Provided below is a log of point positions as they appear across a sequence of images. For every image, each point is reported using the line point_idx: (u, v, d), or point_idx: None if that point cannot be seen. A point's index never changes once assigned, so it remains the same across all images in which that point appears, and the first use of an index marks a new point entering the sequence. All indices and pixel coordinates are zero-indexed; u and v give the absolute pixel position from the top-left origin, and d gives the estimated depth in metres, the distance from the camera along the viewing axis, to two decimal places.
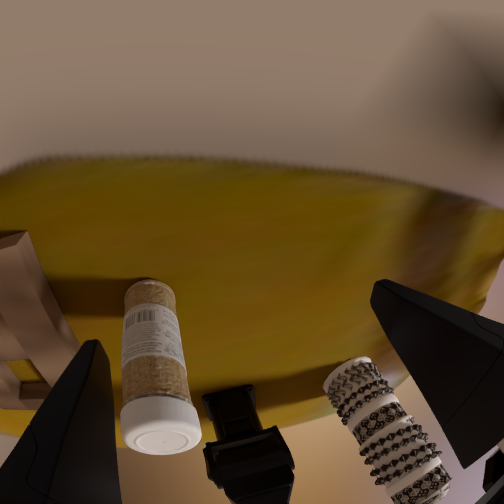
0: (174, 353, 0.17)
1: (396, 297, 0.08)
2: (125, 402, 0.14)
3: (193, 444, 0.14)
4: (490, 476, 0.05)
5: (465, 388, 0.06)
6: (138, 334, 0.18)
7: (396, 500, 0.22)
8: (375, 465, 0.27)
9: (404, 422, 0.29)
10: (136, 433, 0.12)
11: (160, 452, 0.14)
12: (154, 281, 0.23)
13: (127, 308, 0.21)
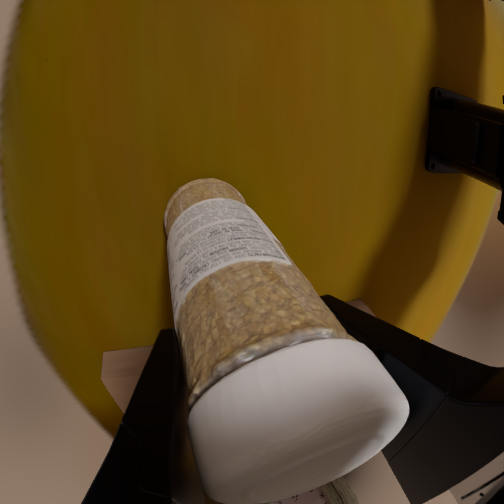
0: (196, 271, 0.08)
1: None
2: None
3: (385, 420, 0.04)
4: None
5: (410, 426, 0.05)
6: None
7: None
8: None
9: None
10: (247, 503, 0.05)
11: (368, 456, 0.05)
12: (166, 210, 0.14)
13: None
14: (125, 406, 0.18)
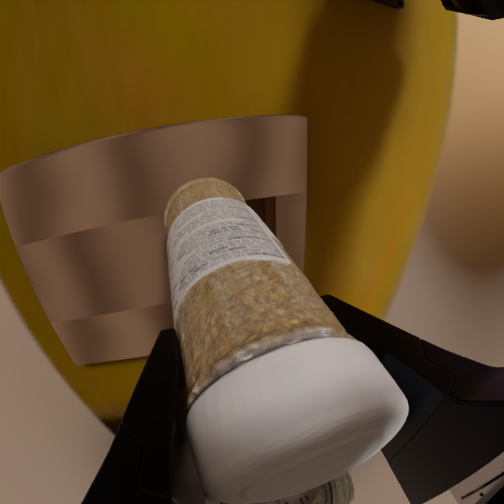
0: (195, 269, 0.08)
1: None
2: None
3: (384, 419, 0.04)
4: None
5: (410, 426, 0.05)
6: None
7: None
8: None
9: None
10: (246, 502, 0.05)
11: (368, 455, 0.05)
12: (165, 209, 0.14)
13: None
14: (13, 225, 0.14)
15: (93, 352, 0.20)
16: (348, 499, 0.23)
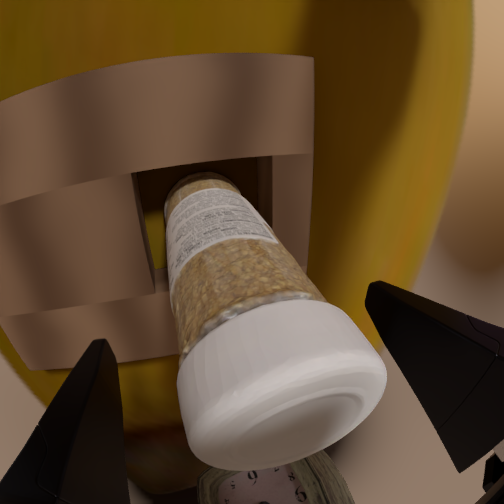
0: (190, 248, 0.09)
1: (390, 299, 0.08)
2: None
3: (359, 376, 0.05)
4: (490, 476, 0.05)
5: (460, 391, 0.06)
6: None
7: None
8: None
9: None
10: (232, 466, 0.05)
11: (351, 423, 0.06)
12: (165, 201, 0.15)
13: None
14: None
15: (46, 356, 0.15)
16: None
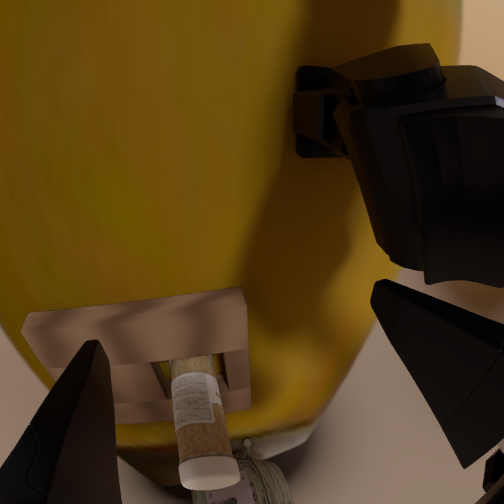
0: (181, 420, 0.20)
1: (396, 297, 0.08)
2: None
3: (223, 478, 0.16)
4: (490, 476, 0.05)
5: (465, 388, 0.06)
6: None
7: None
8: None
9: None
10: (194, 489, 0.17)
11: (230, 483, 0.17)
12: None
13: None
14: (42, 358, 0.21)
15: None
16: None
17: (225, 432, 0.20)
